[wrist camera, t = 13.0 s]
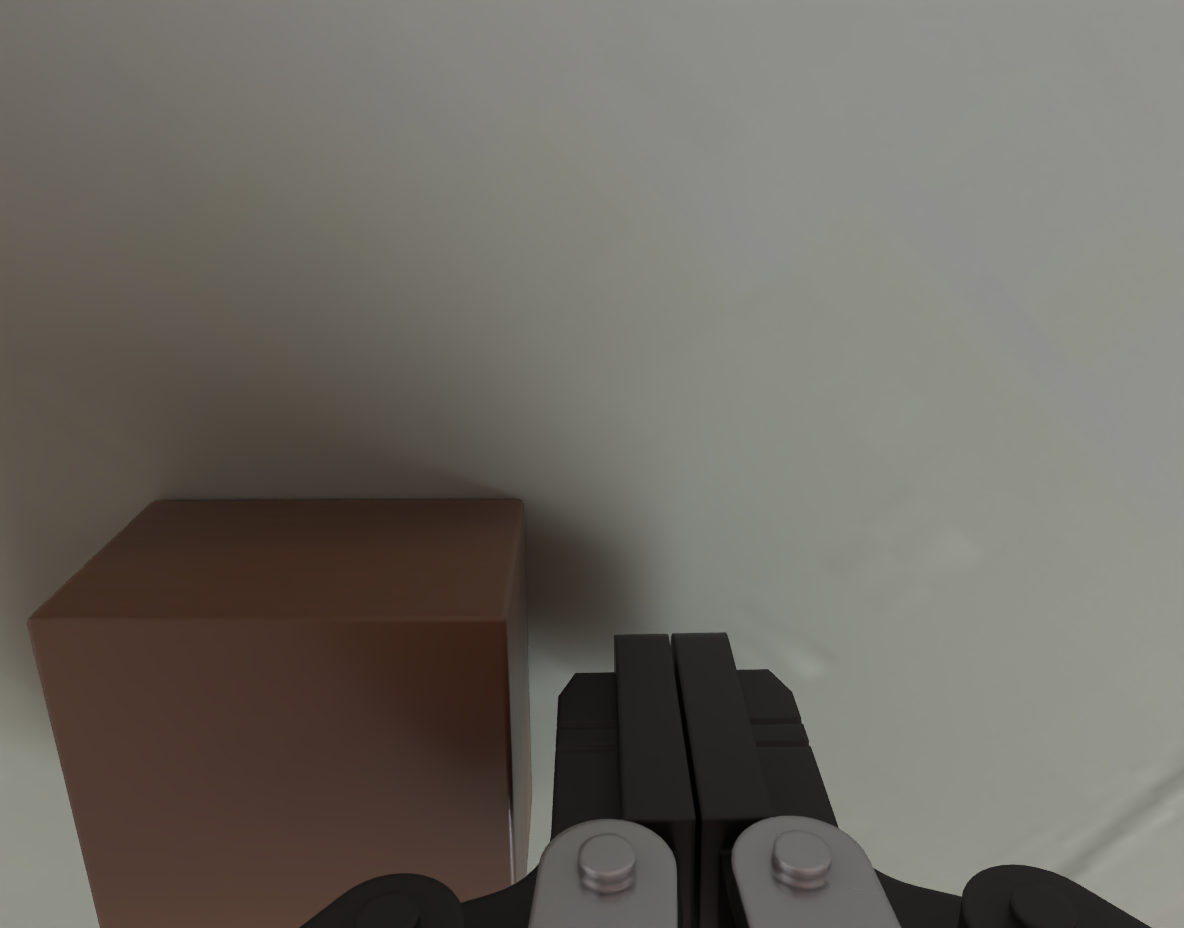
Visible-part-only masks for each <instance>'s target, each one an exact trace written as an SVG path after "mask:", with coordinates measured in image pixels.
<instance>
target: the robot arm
mask: <svg viewBox="0 0 1184 928" xmlns="http://www.w3.org/2000/svg"><path fill="white" fill-rule="evenodd" d="M299 928H1151V927H1149V926H1148V925H1146V924H1144V923H1143V922H1141V921H1139V920H1138V919H1136V918H1134V917H1133V916H1131V915H1129V914H1128V913H1126V912H1124V911H1122V910H1121V909H1119V908H1117V907H1116V906H1114V905H1112V904H1111V903H1109V902H1107V901H1106V900H1104V899H1102V898H1101V897H1099V896H1097V895H1096V894H1094V893H1092V892H1091V891H1089V890H1087V889H1086V888H1084V887H1082V886H1080V885H1079V884H1077V883H1075V882H1073V881H1071V880H1069V879H1068V878H1066V877H1063V876H1061V875H1058V874H1056V873H1053V872H1051V871H1047V870H1044V869H1040V868H1036V867H1031V866H1025V865H1000V866H995V867H991V868H988V869H985V870H983V871H981V872H979V873H978V874H976V875H975V876H973V877H972V878H971V879H970V880H969V882H968V883H967V884H966V886H965V888H964V890H963V895H962V897H961V896H956V895H952V894H948V893H944V892H939V891H935V890H931V889H926V888H922V887H918V886H914V885H911V884H907V883H904V882H901V881H899V880H896V879H894V878H891V877H889V876H887V875H885V874H883V873H881V872H879V871H877V870H876V869H874V868H873V867H872V864H871V862H870V860H869V858H868V857H867V855H866V853H865V851H864V850H863V849H862V848H861V846H860V845H859V844H858V843H857V842H856V841H855V840H854V839H853V838H852V837H850V836H849V835H848V834H846V833H845V832H843V831H842V830H840V829H839V828H838V825H837V822H836V819H835V816H834V813H833V810H832V807H831V804H830V801H829V798H828V795H827V793H826V790H825V787H824V784H823V781H822V778H821V775H820V772H819V769H818V766H817V763H816V760H815V758H814V755H813V752H812V749H811V746H809V740H808V737H807V734H806V731H805V728H804V725H803V724H801V717H800V714H799V711H798V708H797V705H796V702H795V699H794V696H793V693H792V692H791V691H790V690H789V689H788V688H787V687H786V686H785V685H784V684H783V683H782V682H781V681H780V680H779V679H778V678H777V677H776V676H775V675H774V674H773V673H772V672H770V671H769V670H768V669H763V670H736V666H735V662H734V658H733V654H732V651H731V647H730V643H729V639H728V636H727V633H673V634H672V635H671V646H670V642H669V636H668V634H630V635H614V672H611V673H575V675H574V676H573V677H572V679H571V680H570V681H569V683H568V684H567V685H566V687H565V688H564V690H563V691H562V692H561V694H560V695H559V696H558V714H557V733H556V752H555V772H554V791H553V810H552V830H551V839H550V843H549V844H548V845H547V847H546V848H545V850H544V852H543V853H542V855H541V858H540V862H539V864H538V865H537V866H536V868H535V869H534V870H533V871H531V872H530V873H529V874H528V875H527V876H526V877H524V878H523V879H521V880H520V881H518V882H517V883H515V884H513V885H511V886H509V887H507V888H505V889H503V890H501V891H498V892H495V893H492V894H489V895H486V896H482V897H479V898H475V899H472V900H468V901H465V902H461V903H460V901H459V899H458V897H457V896H456V895H455V893H454V892H453V891H452V890H451V889H450V888H449V887H447V886H446V885H445V884H444V883H442V882H440V881H438V880H436V879H434V878H431V877H428V876H425V875H420V874H413V873H397V874H388V875H384V876H379V877H376V878H373V879H370V880H367V881H365V882H362V883H361V884H359V885H357V886H355V887H353V888H351V889H350V890H348V891H347V892H345V893H344V894H342V895H341V896H340V897H338V898H337V899H336V900H334V901H333V902H332V903H331V904H329V905H328V906H327V907H325V908H324V909H323V910H321V911H320V912H319V913H318V914H316V915H315V916H314V917H312V918H311V919H310V920H308V921H307V922H306V923H305V924H303V925H302V926H301V927H299Z"/></svg>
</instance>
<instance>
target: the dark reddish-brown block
mask: <svg viewBox="0 0 1184 928" xmlns="http://www.w3.org/2000/svg"><path fill="white" fill-rule="evenodd" d="M27 626H28V630H29V634H30V638H31V642H32V646H33V651H34V655H35V659H36V663H37V667H38V671H39V675H40V680H41V684H42V688H43V692H44V696H45V700H46V705H47V709H48V713H49V717H50V721H51V725H52V730H53V734H54V738H55V742H56V746H57V750H58V755H59V759H60V763H61V767H62V771H63V775H64V780H65V784H66V788H67V792H68V796H69V800H70V805H71V809H72V813H73V817H74V821H75V825H76V830H77V834H78V838H79V842H80V846H81V850H82V854H83V859H84V863H85V867H86V871H87V875H88V879H89V884H90V888H91V892H92V896H93V900H94V904H95V909H96V913H97V917H98V921H99V925H100V928H299V927H301V926H302V925H303V924H305V923H306V922H307V921H308V920H310V919H311V918H312V917H314V916H315V915H316V914H318V913H319V912H320V911H321V910H323V909H324V908H325V907H327V906H328V905H329V904H331V903H332V902H333V901H334V900H336V899H337V898H338V897H340V896H341V895H342V894H344V893H345V892H347V891H348V890H350V889H351V888H353V887H355V886H357V885H359V884H361V883H362V882H365V881H367V880H370V879H373V878H376V877H379V876H384V875H388V874H397V873H413V874H420V875H425V876H428V877H431V878H434V879H436V880H438V881H440V882H442V883H444V884H445V885H446V886H447V887H449V888H450V889H451V890H452V891H453V892H454V893H455V895H456V896H457V897H458V899H459V901H460V903H461V902H465V901H468V900H472V899H475V898H479V897H482V896H486V895H489V894H492V893H495V892H498V891H501V890H503V889H505V888H507V887H509V886H511V885H513V884H515V883H517V882H518V881H520V880H521V879H523V878H524V877H526V873H527V859H528V846H529V832H530V819H531V805H532V775H531V740H530V704H529V668H528V633H527V597H526V561H525V525H524V503H523V501H522V500H520V499H437V500H166V501H153V502H151V503H150V504H149V505H148V506H147V507H146V508H145V509H144V510H143V511H142V512H141V513H140V514H139V515H138V516H136V517H135V518H134V519H133V520H132V521H131V522H130V523H129V524H128V525H127V526H126V527H125V528H124V529H123V530H122V531H120V532H119V533H118V534H117V535H116V536H115V537H114V538H113V539H112V540H111V541H110V542H109V543H108V544H107V545H106V546H104V547H103V548H102V549H101V550H100V551H99V552H98V553H97V554H96V555H95V556H94V557H93V558H92V559H91V560H90V561H88V562H87V563H86V564H85V565H84V566H83V567H82V568H81V569H80V570H79V571H78V572H77V573H76V574H75V575H74V576H72V577H71V578H70V579H69V580H68V581H67V582H66V583H65V584H64V585H63V586H62V587H61V588H60V589H59V590H58V591H56V592H55V593H54V594H53V595H52V596H51V597H50V598H49V599H48V600H47V601H46V602H45V603H44V604H43V605H42V606H40V607H39V608H38V609H37V610H36V611H35V612H34V613H33V614H32V615H31V616H30V617H29V618H28V622H27Z"/></svg>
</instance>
